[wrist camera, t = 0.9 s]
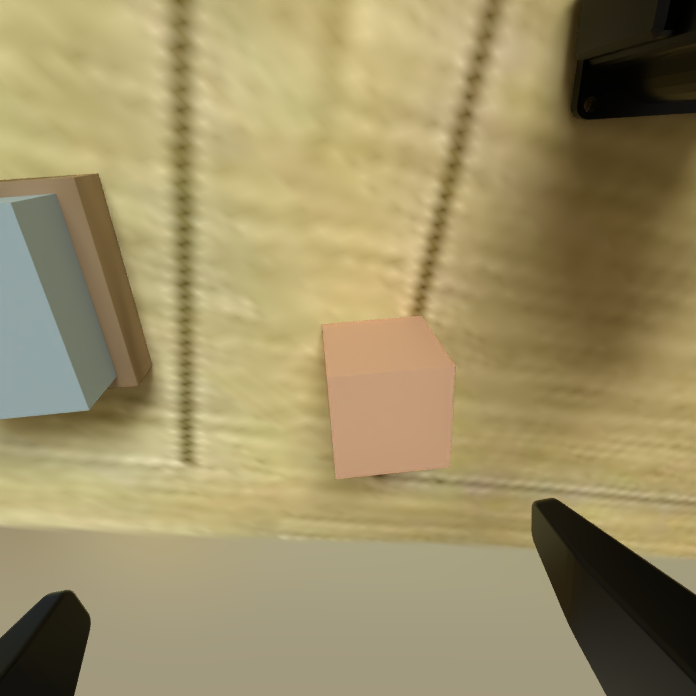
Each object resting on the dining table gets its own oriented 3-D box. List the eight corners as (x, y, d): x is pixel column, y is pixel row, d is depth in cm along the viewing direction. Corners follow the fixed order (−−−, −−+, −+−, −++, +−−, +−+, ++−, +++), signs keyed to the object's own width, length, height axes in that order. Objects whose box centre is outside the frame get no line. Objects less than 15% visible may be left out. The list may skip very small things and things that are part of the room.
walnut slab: (104, 172, 17) (73, 177, 15) (156, 358, 20) (138, 385, 18) (-115, 187, 16) (-181, 195, 14) (-24, 374, 20) (-66, 404, 18)
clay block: (421, 315, 20) (455, 365, 15) (420, 400, 22) (449, 467, 17) (321, 323, 20) (326, 377, 15) (329, 408, 22) (335, 479, 17)
